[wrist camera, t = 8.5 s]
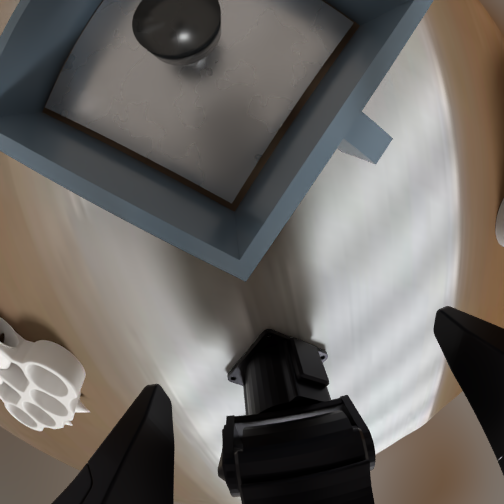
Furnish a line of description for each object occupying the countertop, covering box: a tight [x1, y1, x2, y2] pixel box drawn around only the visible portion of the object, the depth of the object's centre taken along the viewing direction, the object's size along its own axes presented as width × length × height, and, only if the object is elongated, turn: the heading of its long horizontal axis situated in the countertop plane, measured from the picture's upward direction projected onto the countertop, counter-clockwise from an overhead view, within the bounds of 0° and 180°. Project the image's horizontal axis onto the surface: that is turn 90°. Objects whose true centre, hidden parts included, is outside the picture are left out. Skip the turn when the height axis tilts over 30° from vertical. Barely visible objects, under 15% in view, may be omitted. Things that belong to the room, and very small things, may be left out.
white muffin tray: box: [0, 317, 90, 431], centre depth 23 cm, size 3×18×15 cm
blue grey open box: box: [0, 0, 433, 282], centre depth 10 cm, size 15×17×6 cm
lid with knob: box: [45, 0, 353, 203], centre depth 10 cm, size 13×13×6 cm
